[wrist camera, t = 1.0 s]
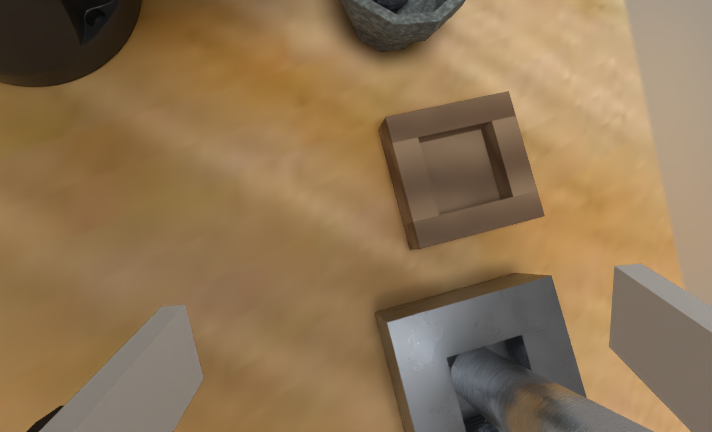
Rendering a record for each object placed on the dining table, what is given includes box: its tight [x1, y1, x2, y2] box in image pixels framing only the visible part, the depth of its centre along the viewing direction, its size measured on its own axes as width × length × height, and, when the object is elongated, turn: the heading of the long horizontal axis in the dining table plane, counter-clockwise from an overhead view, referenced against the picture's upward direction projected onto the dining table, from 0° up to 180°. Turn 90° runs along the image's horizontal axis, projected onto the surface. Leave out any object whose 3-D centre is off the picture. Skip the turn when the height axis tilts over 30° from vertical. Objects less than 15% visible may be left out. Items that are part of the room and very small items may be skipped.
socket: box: [375, 273, 586, 432], centre depth 30 cm, size 12×12×5 cm
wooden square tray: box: [379, 91, 544, 250], centre depth 32 cm, size 10×10×3 cm
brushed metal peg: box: [451, 347, 653, 432], centre depth 22 cm, size 4×4×16 cm
